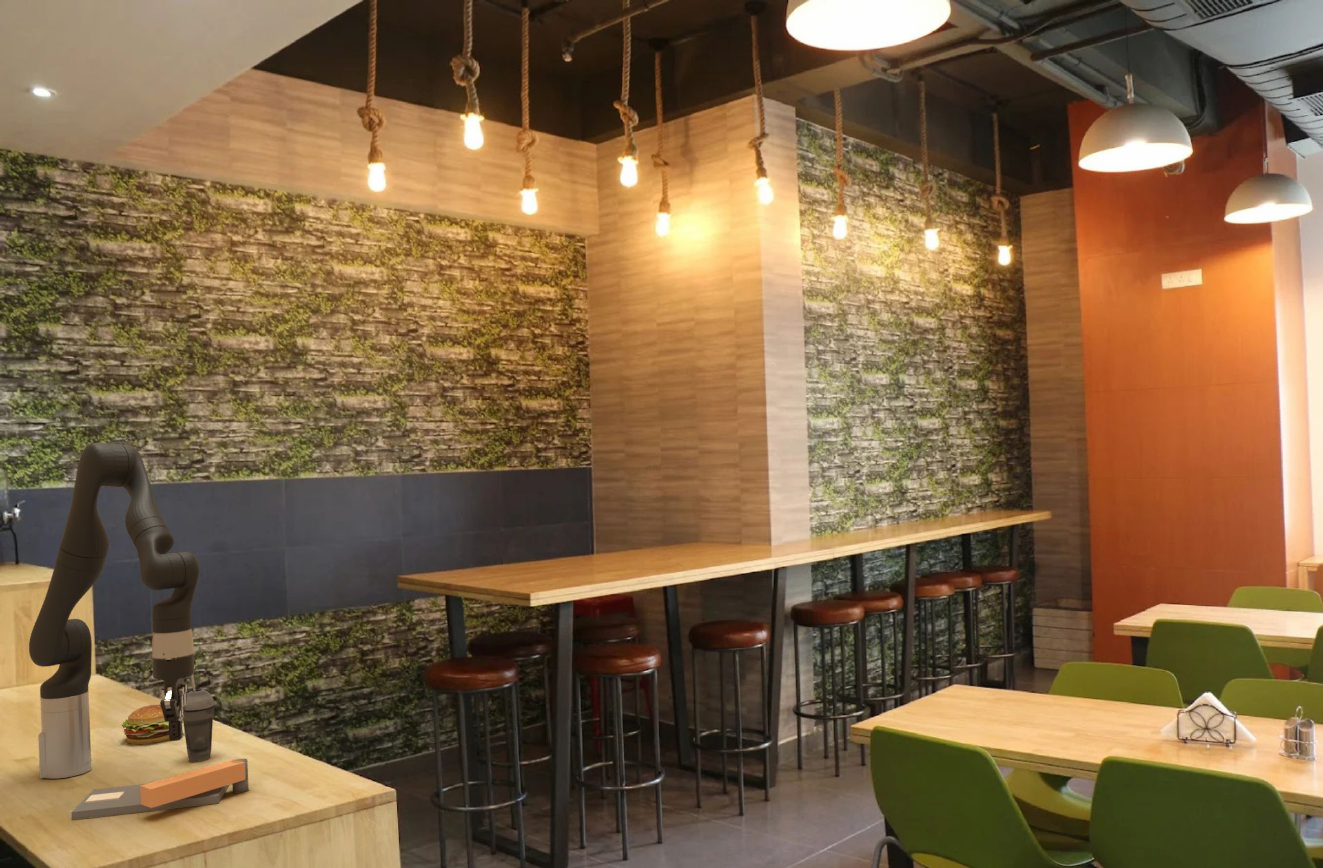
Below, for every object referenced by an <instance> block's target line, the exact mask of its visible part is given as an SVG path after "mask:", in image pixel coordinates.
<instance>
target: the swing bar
mask: <svg viewBox="0 0 1323 868" xmlns="http://www.w3.org/2000/svg"><path fill="white" fill-rule="evenodd" d="M248 763H249V762H248V758H237V759H235V758H234V759H230V760H227V761H224V762H218V763H217V764H213V765H209V766H205V767H202V768H199V769H195V770H191V771H187V772H185V773H181V774H178V775H174V776H170V777H167V778H162V779H159V780H156V781H152V782H148V783H144V784H145V785H141V786H140V792H141V805H144V806H147V807H150V808H153V807H157V806H160V805H163V804H167V803H170V802H173V801H176V800H180V799H183V798H186V797H190V796H193V795H196V794H200V793H203V792H206V791H210V790H213V789H216V788H220V787H223V786H226V785H229V786H230V785H232V784H233V783H236V782H240V781H243V780H246V778H248V779H249V768H248V767H249V765H248Z"/></svg>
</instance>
